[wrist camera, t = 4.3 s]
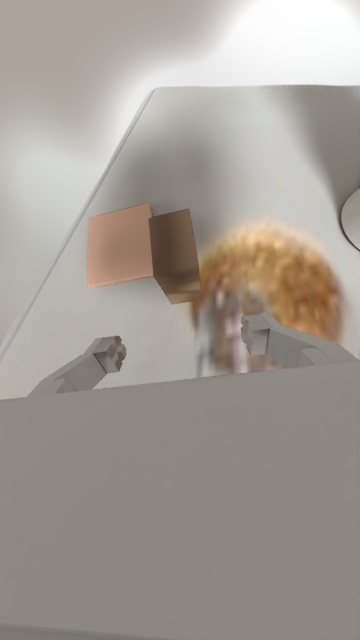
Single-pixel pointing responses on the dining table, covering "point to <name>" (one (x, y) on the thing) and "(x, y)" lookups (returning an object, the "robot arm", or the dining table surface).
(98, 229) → the mat
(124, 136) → the dining table surface
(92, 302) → the dining table surface
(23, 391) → the dining table surface
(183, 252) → the card box
